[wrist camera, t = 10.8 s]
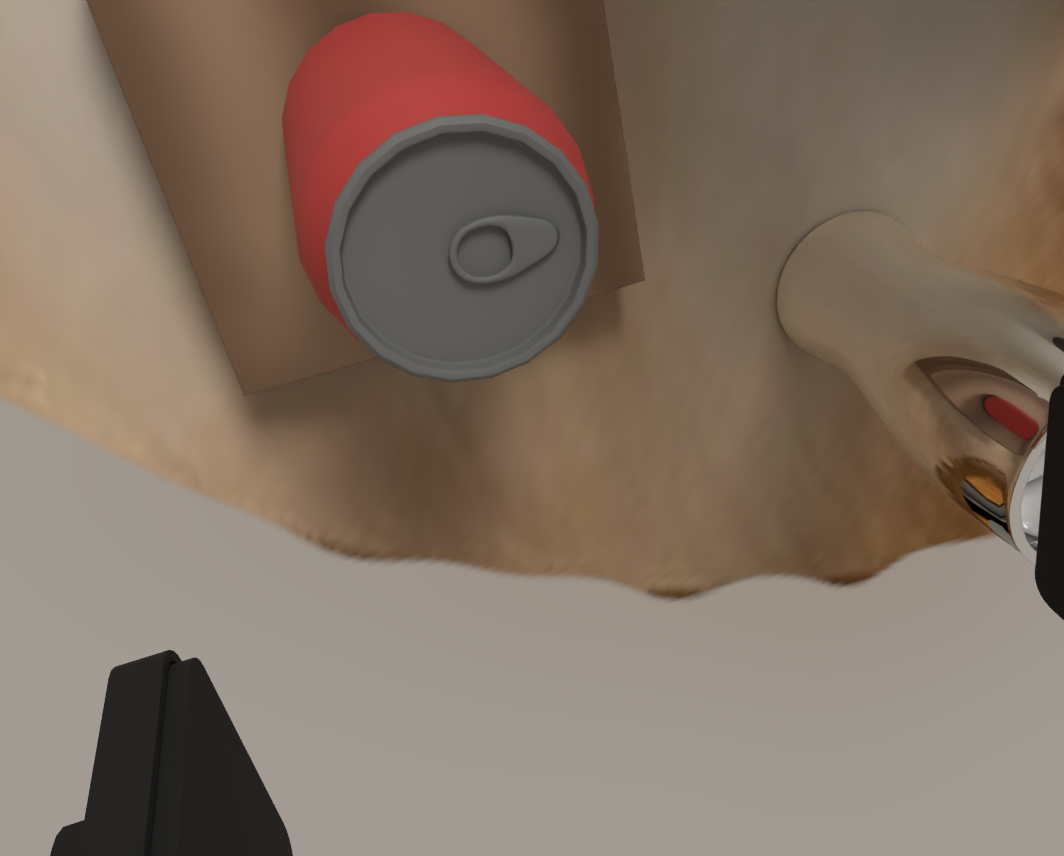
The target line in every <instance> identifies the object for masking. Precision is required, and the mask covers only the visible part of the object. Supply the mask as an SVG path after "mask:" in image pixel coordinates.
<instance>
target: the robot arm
mask: <svg viewBox="0 0 1064 856" xmlns="http://www.w3.org/2000/svg"><path fill="white" fill-rule="evenodd" d="M1035 580H1036V584H1037V587H1038V590H1039V592H1040V594H1041V596H1042V598H1043V599H1044V601H1045V602H1046V603H1047V604H1048V606H1049V607H1050V608H1051V609H1052V610H1053V611H1054V612H1055V613H1057V614H1058V615H1059V616H1060V617H1061V618H1062V619H1063V620H1064V375H1063V376H1062V378H1061V381H1060V385H1059V386H1058V387H1056V388H1054V390H1053V391H1052V393H1051V396H1050V400H1049V412H1048V424H1047V436H1046V447H1045V459H1044V471H1043V483H1042V495H1041V507H1040V518H1039V530H1038V542H1037V554H1036V567H1035ZM50 856H293V855H292V849H291V844H290V841H289V837H288V833H287V830H286V828H285V826H284V823H283V821H282V819H281V818H280V816H279V814H278V812H277V810H276V808H275V806H274V804H273V802H272V800H271V798H270V796H269V794H268V792H267V790H266V788H265V786H264V784H263V782H262V780H261V778H260V776H259V774H258V772H257V770H256V769H255V766H254V764H253V762H252V760H251V758H250V757H249V755H248V753H247V751H246V749H245V747H244V745H243V743H242V741H241V739H240V737H239V735H238V733H237V731H236V729H235V727H234V725H233V723H232V721H231V719H230V717H229V715H228V713H227V711H226V709H225V707H224V706H223V703H222V701H221V700H220V698H219V696H218V694H217V692H216V690H215V688H214V686H213V684H212V682H211V680H210V678H209V676H208V674H207V672H206V670H205V668H204V666H203V665H202V663H201V661H200V660H199V659H198V658H191V659H188V660H185V661H181V659H180V658H179V656H178V655H177V654H176V653H175V652H174V651H171V650H168V651H164V652H162V653H158V654H155V655H152V656H149V657H145V658H142V659H139V660H136V661H133V662H129V663H126V664H123V665H120V666H116V667H114V668H113V669H112V670H111V673H110V676H109V679H108V685H107V691H106V697H105V703H104V708H103V714H102V720H101V726H100V732H99V738H98V744H97V749H96V755H95V761H94V767H93V773H92V778H91V784H90V790H89V796H88V802H87V808H86V814H85V820H83V821H80V822H77V823H74V824H71V825H68V826H65V827H63V828H62V830H61V831H60V832H59V833H58V835H57V836H56V838H55V842H54V844H53V847H52V851H51V855H50Z"/></svg>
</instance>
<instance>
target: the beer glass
mask: <svg viewBox="0 0 1064 856" xmlns="http://www.w3.org/2000/svg"><path fill="white" fill-rule="evenodd" d="M777 312H778V316H779V320H780V323H781V325H782V327H783V329H784V331H785V333H786V334H787V336H788V337H789V338H790V339H791V340H792V342H794V343H795V344H796V345H797V346H798V347H800V348H801V349H803V350H804V351H806V352H808V353H809V354H811V355H813V356H816V357H818V358H820V359H822V360H824V361H827V362H829V363H831V364H833V365H835V366H836V367H838V368H839V369H841V370H842V371H843V372H844V373H845V374H846V375H847V376H848V377H849V378H850V379H851V380H852V381H853V383H854V384H855V386H856V387H857V388H858V390H859V391H860V392H861V394H862V395H863V397H864V398H865V400H866V401H867V403H868V404H869V406H870V407H871V409H872V410H873V412H874V413H875V415H876V416H877V418H878V419H879V421H880V422H881V423H882V425H883V426H884V428H885V429H886V431H887V432H888V434H889V435H890V436H891V438H892V439H893V440H894V441H895V443H896V444H897V445H898V446H899V448H900V449H901V450H902V451H903V453H904V454H905V455H906V457H907V458H908V459H909V460H910V462H911V463H912V464H913V465H914V466H915V467H916V468H917V469H918V470H919V471H920V472H921V473H922V474H923V475H924V476H925V477H926V478H927V479H928V480H929V481H930V482H931V483H932V484H933V485H934V486H935V487H937V488H938V489H939V490H940V491H941V492H942V493H943V494H945V495H946V496H947V497H948V498H949V499H951V500H952V501H953V502H954V503H955V504H956V505H958V506H959V507H960V508H961V509H962V510H964V511H965V512H966V513H968V514H969V515H970V516H971V517H973V518H974V519H975V520H977V521H978V522H979V523H981V524H982V525H983V526H985V527H986V528H987V529H989V530H990V531H991V532H993V533H994V534H996V535H997V536H999V537H1000V538H1001V539H1003V540H1004V541H1006V542H1007V543H1008V544H1010V545H1011V546H1012V547H1014V548H1015V549H1016V550H1018V551H1019V552H1020V553H1021V554H1022V555H1023V556H1024V557H1025V558H1026V559H1027V560H1029V561H1030V562H1031V563H1033V564H1034V565H1036V554H1037V542H1038V530H1039V518H1040V507H1041V495H1042V483H1043V471H1044V459H1045V447H1046V436H1047V424H1048V412H1049V400H1050V396H1051V393H1052V391H1053V390H1054V388H1056V387H1058V386H1059V385H1060V381H1061V378H1062V376H1063V375H1064V296H1063V295H1061V294H1058V293H1056V292H1053V291H1050V290H1048V289H1045V288H1042V287H1039V286H1036V285H1033V284H1030V283H1027V282H1024V281H1021V280H1018V279H1014V278H1010V277H1007V276H1003V275H999V274H996V273H992V272H988V271H984V270H981V269H977V268H973V267H969V266H965V265H961V264H958V263H954V262H951V261H948V260H945V259H943V258H941V257H939V256H937V255H935V254H933V253H932V252H930V251H929V250H928V249H927V248H926V247H925V246H924V245H923V244H922V243H921V242H920V241H919V240H918V239H917V238H916V237H915V236H914V235H913V234H912V233H911V232H910V231H909V230H908V229H907V228H906V227H905V226H904V225H903V224H902V223H900V222H899V221H897V220H896V219H894V218H893V217H891V216H888V215H886V214H883V213H879V212H873V211H854V212H849V213H845V214H841V215H839V216H836V217H834V218H831V219H829V220H827V221H826V222H824V223H822V224H821V225H819V226H818V227H816V228H815V229H814V230H812V231H811V232H810V233H809V234H808V235H807V236H806V237H805V238H804V239H803V240H802V241H801V242H800V243H799V244H798V245H797V247H796V248H795V249H794V251H793V252H792V254H791V255H790V257H789V259H788V260H787V262H786V264H785V266H784V268H783V271H782V274H781V276H780V280H779V284H778V289H777Z"/></svg>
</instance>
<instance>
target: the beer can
mask: <svg viewBox="0 0 1064 856" xmlns="http://www.w3.org/2000/svg"><path fill="white" fill-rule="evenodd" d="M282 127H283V135H284V143H285V151H286V159H287V167H288V175H289V183H290V190H291V198H292V206H293V214H294V221H295V229H296V237H297V245H298V253H299V260H300V262H301V264H302V266H303V268H304V270H305V272H306V274H307V276H308V278H309V280H310V282H311V285H312V287H313V289H314V291H315V293H316V295H317V297H318V299H319V301H320V302H321V303H322V304H323V305H324V306H325V307H326V308H327V309H328V310H329V311H330V312H331V314H332V315H333V316H334V317H335V318H336V319H337V320H338V321H339V322H340V323H341V324H342V325H343V326H344V327H345V328H346V329H347V330H348V331H349V332H350V333H351V334H352V335H353V336H354V337H355V338H356V339H357V340H358V341H360V342H361V343H363V344H364V345H365V346H366V347H367V348H368V349H369V350H370V351H371V352H372V353H373V354H374V355H375V356H376V357H378V358H380V359H381V360H383V361H385V362H387V363H389V364H391V365H393V366H395V367H397V368H399V369H401V370H402V371H404V372H406V373H408V374H410V375H413V376H419V377H425V378H430V379H436V380H441V381H447V382H458V381H467V380H476V379H485V378H492V377H494V376H497V375H499V374H501V373H504V372H506V371H509V370H511V369H514V368H516V367H518V366H521V365H523V364H526V363H528V362H530V361H531V360H532V359H533V358H535V357H536V356H537V355H538V354H540V353H541V352H542V351H544V350H545V349H546V348H547V347H549V346H550V345H551V344H552V343H554V342H555V341H556V340H557V339H559V338H560V337H561V336H562V334H563V333H564V332H565V330H566V329H567V327H568V326H569V325H570V323H571V322H572V320H573V319H574V318H575V316H576V315H577V313H578V312H579V311H580V309H581V308H582V306H583V305H584V303H585V300H586V297H587V294H588V292H589V289H590V286H591V283H592V280H593V277H594V274H595V271H596V268H597V264H598V229H599V225H598V221H597V218H596V215H595V211H594V203H595V201H594V197H593V193H592V189H591V186H590V183H589V179H588V176H587V172H586V169H585V166H584V162H583V159H582V156H581V152H580V149H579V146H578V145H577V144H576V142H575V141H574V139H573V138H572V136H571V135H570V134H569V132H568V131H567V129H566V128H565V127H564V125H563V124H562V122H561V121H560V119H559V118H558V117H557V115H556V114H555V112H554V111H553V110H552V109H551V108H550V107H549V106H548V105H547V104H545V103H544V102H543V101H542V100H540V99H539V98H538V97H537V96H535V95H534V94H533V93H532V92H531V91H529V90H528V89H527V88H526V87H524V86H523V85H522V84H521V83H519V82H518V81H517V80H516V79H515V78H513V77H512V76H511V75H510V74H508V73H507V72H506V71H505V70H503V69H502V68H501V67H500V66H499V65H497V64H496V63H495V62H494V61H492V60H491V59H490V58H489V57H487V56H486V55H485V54H484V53H482V52H481V51H480V50H479V49H478V48H476V47H475V46H474V45H473V44H471V43H470V42H469V41H467V40H466V39H464V38H463V37H462V36H460V35H459V34H457V33H456V32H455V31H453V30H452V29H451V28H449V27H448V26H446V25H445V24H444V23H442V22H439V21H435V20H432V19H429V18H426V17H422V16H419V15H416V14H413V13H409V12H389V13H369V14H367V15H364V16H362V17H359V18H357V19H354V20H351V21H349V22H346V23H344V24H341V25H339V26H336V27H335V28H334V29H332V30H331V31H330V32H329V33H328V34H327V35H325V36H324V37H323V38H322V39H321V40H320V41H319V42H317V43H316V44H315V45H314V46H313V47H312V48H310V49H309V50H308V51H307V53H306V55H305V56H304V58H303V60H302V61H301V63H300V65H299V67H298V68H297V70H296V72H295V74H294V75H293V77H292V79H291V80H290V82H289V85H288V90H287V95H286V100H285V105H284V110H283V115H282Z"/></svg>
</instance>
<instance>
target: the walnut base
mask: <svg viewBox="0 0 1064 856" xmlns="http://www.w3.org/2000/svg"><path fill="white" fill-rule="evenodd" d="M87 3H88V5H89V8H90V10H91V13H92V15H93V18H94V20H95V23H96V25H97V28H98V30H99V33H100V35H101V38H102V40H103V43H104V45H105V48H106V50H107V53H108V55H109V58H110V60H111V63H112V65H113V68H114V70H115V73H116V75H117V78H118V80H119V83H120V86H121V88H122V91H123V93H124V96H125V98H126V101H127V103H128V106H129V108H130V111H131V113H132V116H133V118H134V121H135V123H136V126H137V128H138V131H139V133H140V136H141V138H142V141H143V143H144V146H145V148H146V151H147V153H148V156H149V158H150V161H151V163H152V166H153V168H154V171H155V173H156V176H157V178H158V181H159V183H160V186H161V188H162V191H163V193H164V196H165V198H166V201H167V203H168V206H169V208H170V211H171V213H172V216H173V218H174V221H175V223H176V226H177V228H178V231H179V233H180V236H181V238H182V241H183V243H184V246H185V248H186V251H187V253H188V256H189V259H190V261H191V264H192V266H193V269H194V271H195V274H196V276H197V279H198V281H199V284H200V286H201V289H202V291H203V294H204V296H205V299H206V301H207V304H208V306H209V309H210V311H211V314H212V316H213V319H214V321H215V324H216V326H217V329H218V331H219V334H220V336H221V339H222V341H223V344H224V346H225V349H226V351H227V354H228V356H229V359H230V361H231V364H232V366H233V369H234V371H235V374H236V376H237V379H238V381H239V384H240V386H241V389H242V391H243V394H244V396H245V395H249V394H252V393H256V392H259V391H263V390H266V389H269V388H273V387H276V386H280V385H283V384H287V383H290V382H294V381H297V380H301V379H304V378H308V377H311V376H315V375H318V374H322V373H325V372H329V371H332V370H336V369H339V368H342V367H346V366H349V365H353V364H356V363H360V362H363V361H367V360H370V359H374V358H377V357H376V356H375V355H374V354H373V353H372V352H371V351H370V350H369V349H368V348H367V347H366V346H365V345H364V344H363V343H361V342H360V341H358V340H357V339H356V338H355V337H354V336H353V335H352V334H351V333H350V332H349V331H348V330H347V329H346V328H345V327H344V326H343V325H342V324H341V323H340V322H339V321H338V320H337V319H336V318H335V317H334V316H333V315H332V314H331V312H330V311H329V310H328V309H327V308H326V307H325V306H324V305H323V304H322V303H321V302H320V301H319V299H318V297H317V295H316V293H315V291H314V289H313V287H312V285H311V282H310V280H309V278H308V276H307V274H306V272H305V270H304V268H303V266H302V264H301V262H300V260H299V253H298V245H297V237H296V229H295V221H294V214H293V206H292V198H291V190H290V183H289V175H288V167H287V159H286V151H285V143H284V135H283V127H282V115H283V110H284V105H285V100H286V95H287V90H288V85H289V82H290V80H291V79H292V77H293V75H294V74H295V72H296V70H297V68H298V67H299V65H300V63H301V61H302V60H303V58H304V56H305V55H306V53H307V51H308V50H309V49H310V48H312V47H313V46H314V45H315V44H316V43H317V42H319V41H320V40H321V39H322V38H323V37H324V36H325V35H327V34H328V33H329V32H330V31H331V30H332V29H334V28H335V27H336V26H339V25H341V24H344V23H346V22H349V21H351V20H354V19H357V18H359V17H362V16H364V15H367V14H369V13H389V12H409V13H413V14H416V15H419V16H422V17H426V18H429V19H432V20H435V21H439V22H442V23H444V24H445V25H446V26H448V27H449V28H451V29H452V30H453V31H455V32H456V33H457V34H459V35H460V36H462V37H463V38H464V39H466V40H467V41H469V42H470V43H471V44H473V45H474V46H475V47H476V48H478V49H479V50H480V51H481V52H482V53H484V54H485V55H486V56H487V57H489V58H490V59H491V60H492V61H494V62H495V63H496V64H497V65H499V66H500V67H501V68H502V69H503V70H505V71H506V72H507V73H508V74H510V75H511V76H512V77H513V78H515V79H516V80H517V81H518V82H519V83H521V84H522V85H523V86H524V87H526V88H527V89H528V90H529V91H531V92H532V93H533V94H534V95H535V96H537V97H538V98H539V99H540V100H542V101H543V102H544V103H545V104H547V105H548V106H549V107H550V108H551V109H552V110H553V111H554V112H555V114H556V115H557V117H558V118H559V119H560V121H561V122H562V124H563V125H564V127H565V128H566V129H567V131H568V132H569V134H570V135H571V136H572V138H573V139H574V141H575V142H576V144H577V145H578V146H579V149H580V152H581V156H582V159H583V162H584V166H585V169H586V172H587V176H588V179H589V183H590V186H591V189H592V193H593V197H594V201H595V203H594V211H595V215H596V218H597V221H598V225H599V229H598V264H597V268H596V271H595V274H594V277H593V280H592V283H591V286H590V289H589V292H588V294H587V297H589V296H593V295H596V294H600V293H603V292H607V291H610V290H614V289H617V288H620V287H624V286H627V285H631V284H634V283H638V282H641V281H645V278H644V272H643V265H642V258H641V251H640V245H639V238H638V231H637V225H636V218H635V211H634V204H633V198H632V191H631V184H630V178H629V171H628V164H627V157H626V151H625V144H624V137H623V130H622V124H621V117H620V110H619V104H618V97H617V90H616V83H615V77H614V70H613V63H612V57H611V50H610V43H609V36H608V30H607V23H606V16H605V10H604V3H603V0H87Z"/></svg>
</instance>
